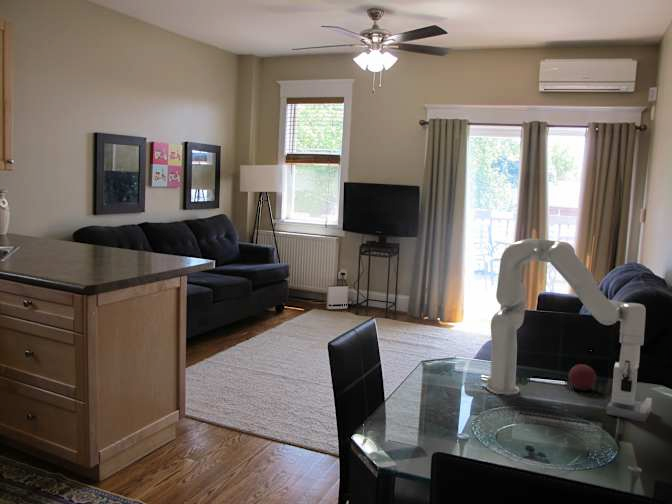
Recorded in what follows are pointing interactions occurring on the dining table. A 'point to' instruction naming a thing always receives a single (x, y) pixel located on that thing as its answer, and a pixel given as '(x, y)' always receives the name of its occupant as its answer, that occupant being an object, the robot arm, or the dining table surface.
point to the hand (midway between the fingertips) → (628, 387)
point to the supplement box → (616, 389)
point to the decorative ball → (582, 377)
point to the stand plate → (631, 410)
